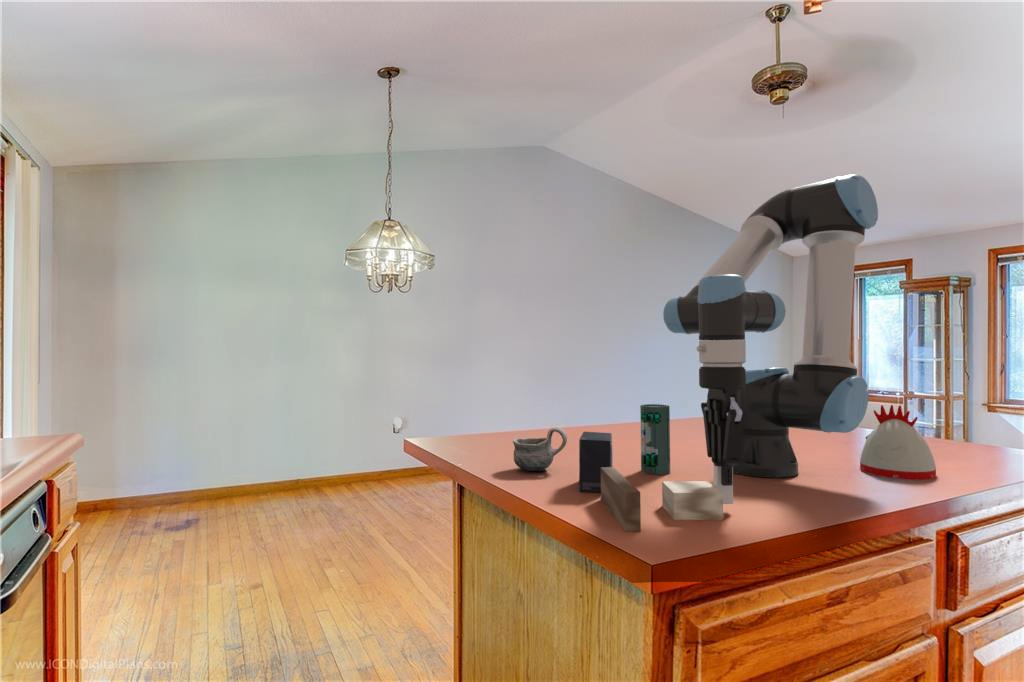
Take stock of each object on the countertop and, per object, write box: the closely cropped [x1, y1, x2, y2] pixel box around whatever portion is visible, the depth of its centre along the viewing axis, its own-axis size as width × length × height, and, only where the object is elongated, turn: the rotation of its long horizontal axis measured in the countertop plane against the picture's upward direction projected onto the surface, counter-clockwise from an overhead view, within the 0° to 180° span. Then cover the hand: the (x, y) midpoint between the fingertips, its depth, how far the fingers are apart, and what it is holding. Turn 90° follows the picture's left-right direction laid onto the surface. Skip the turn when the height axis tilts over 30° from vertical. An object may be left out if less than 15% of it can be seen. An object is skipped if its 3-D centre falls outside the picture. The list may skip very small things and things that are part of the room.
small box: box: [578, 431, 613, 493], centre depth 114 cm, size 11×6×10 cm, turn 168°
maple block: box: [661, 480, 724, 521], centre depth 95 cm, size 8×8×4 cm
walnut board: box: [600, 466, 642, 532], centre depth 95 cm, size 2×18×6 cm, turn 3°
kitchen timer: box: [859, 404, 937, 480], centre depth 124 cm, size 14×14×15 cm
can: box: [639, 403, 671, 476], centre depth 127 cm, size 6×6×15 cm
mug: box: [512, 427, 568, 472], centre depth 129 cm, size 10×12×10 cm
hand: (723, 502), depth 95 cm, fingers closed
